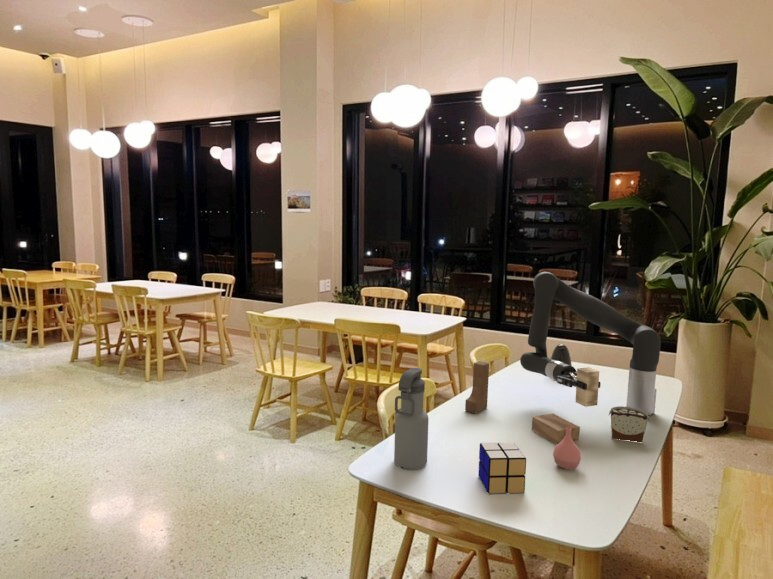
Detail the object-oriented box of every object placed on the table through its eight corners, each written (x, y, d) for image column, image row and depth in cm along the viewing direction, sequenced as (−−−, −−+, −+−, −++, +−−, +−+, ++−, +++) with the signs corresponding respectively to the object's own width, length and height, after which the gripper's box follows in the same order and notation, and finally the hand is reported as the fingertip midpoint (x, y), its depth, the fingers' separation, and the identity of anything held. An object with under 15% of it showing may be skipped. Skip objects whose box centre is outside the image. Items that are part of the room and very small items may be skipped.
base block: (552, 426, 181) (553, 413, 181) (578, 441, 170) (579, 427, 169) (531, 430, 178) (532, 416, 177) (557, 445, 166) (558, 430, 165)
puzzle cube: (477, 476, 144) (479, 442, 143) (512, 475, 145) (514, 441, 144) (487, 494, 134) (489, 458, 133) (524, 493, 135) (527, 457, 134)
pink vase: (558, 459, 156) (560, 421, 154) (583, 466, 151) (586, 427, 149) (548, 468, 150) (550, 428, 148) (574, 476, 145) (577, 436, 143)
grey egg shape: (550, 377, 241) (552, 346, 239) (547, 371, 251) (549, 341, 249) (572, 379, 239) (575, 347, 237) (568, 372, 249) (570, 342, 247)
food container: (644, 437, 173) (647, 408, 172) (647, 444, 168) (650, 414, 166) (605, 431, 177) (607, 403, 176) (606, 438, 172) (609, 409, 170)
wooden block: (474, 414, 191) (476, 367, 189) (464, 411, 194) (466, 365, 192) (487, 408, 198) (489, 363, 196) (477, 405, 201) (479, 360, 199)
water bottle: (416, 474, 144) (419, 378, 141) (387, 465, 149) (389, 372, 146) (432, 460, 153) (435, 369, 149) (404, 452, 158) (406, 364, 154)
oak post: (587, 400, 180) (589, 367, 178) (597, 405, 175) (599, 371, 173) (575, 401, 178) (577, 368, 176) (585, 406, 173) (587, 372, 172)
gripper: (544, 364, 186) (576, 377, 170) (576, 360, 191) (610, 373, 175) (543, 384, 187) (575, 399, 171) (575, 380, 192) (609, 394, 176)
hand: (592, 386), depth 173 cm, fingers closed on oak post, 5 cm apart
